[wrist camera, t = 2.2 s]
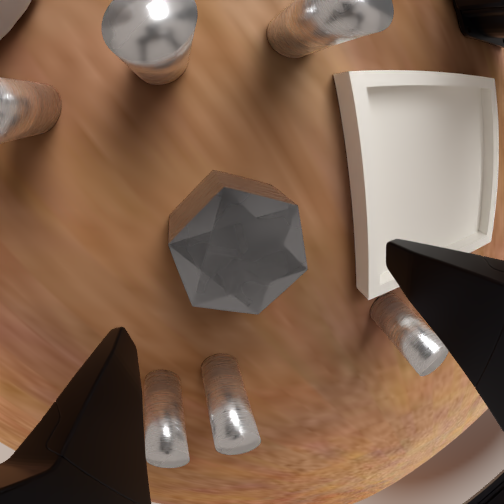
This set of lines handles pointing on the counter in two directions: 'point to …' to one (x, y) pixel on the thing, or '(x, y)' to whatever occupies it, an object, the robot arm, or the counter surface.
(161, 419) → the spacer posts
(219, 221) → the grey faceted icosahedron
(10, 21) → the can
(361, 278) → the tray
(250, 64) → the counter surface
